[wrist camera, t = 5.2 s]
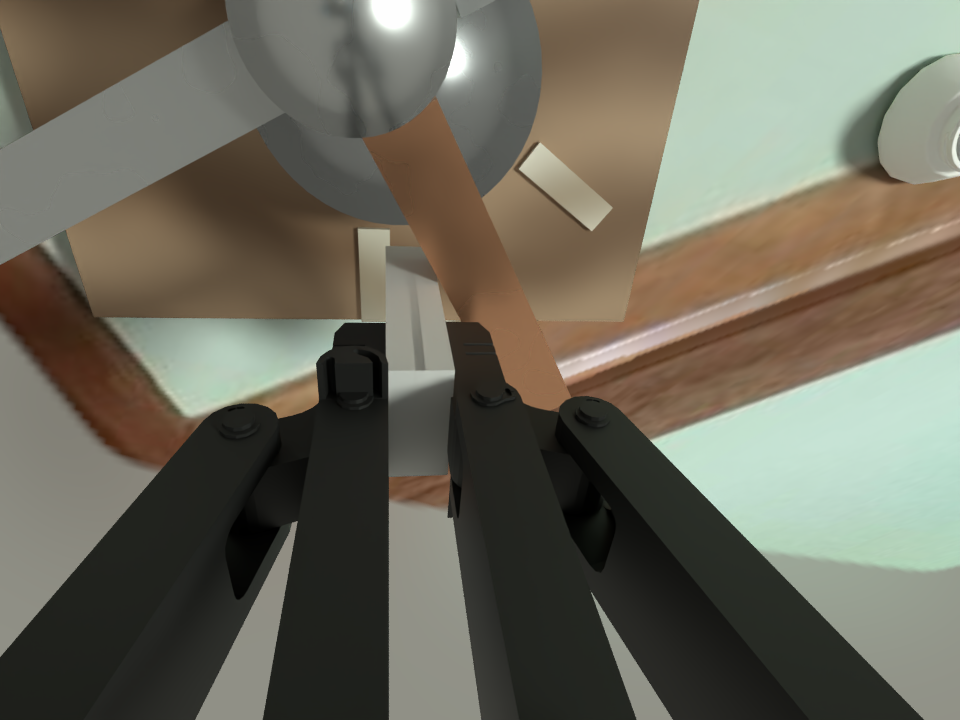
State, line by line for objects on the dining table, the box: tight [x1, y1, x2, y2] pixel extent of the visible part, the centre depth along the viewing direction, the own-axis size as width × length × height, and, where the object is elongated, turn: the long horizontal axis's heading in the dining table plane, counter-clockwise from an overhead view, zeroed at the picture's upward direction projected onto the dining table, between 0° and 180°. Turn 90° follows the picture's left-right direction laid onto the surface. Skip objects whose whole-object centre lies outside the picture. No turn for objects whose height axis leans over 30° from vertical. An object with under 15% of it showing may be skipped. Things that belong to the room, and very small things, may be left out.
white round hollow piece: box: [877, 53, 960, 184], centre depth 23 cm, size 5×3×5 cm
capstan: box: [0, 0, 571, 411], centre depth 14 cm, size 22×22×9 cm
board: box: [0, 0, 699, 322], centre depth 18 cm, size 22×22×2 cm
